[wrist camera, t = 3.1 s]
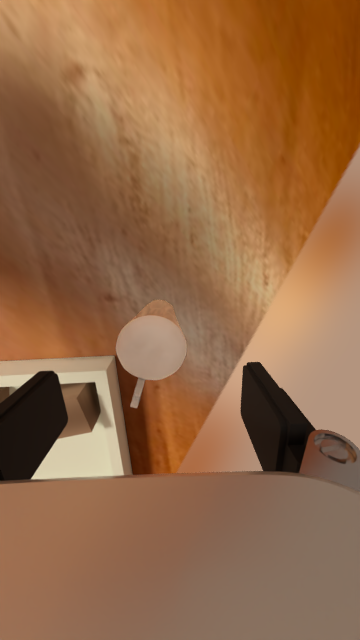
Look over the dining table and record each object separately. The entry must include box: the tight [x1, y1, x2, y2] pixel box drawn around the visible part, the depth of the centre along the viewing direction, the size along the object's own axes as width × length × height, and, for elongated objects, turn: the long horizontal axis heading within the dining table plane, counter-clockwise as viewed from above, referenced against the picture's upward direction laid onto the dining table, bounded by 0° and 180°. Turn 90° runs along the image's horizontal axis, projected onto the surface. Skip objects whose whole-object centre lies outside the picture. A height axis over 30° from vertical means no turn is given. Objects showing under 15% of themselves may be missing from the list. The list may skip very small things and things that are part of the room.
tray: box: [0, 356, 133, 479], centre depth 24 cm, size 20×18×3 cm
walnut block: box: [58, 382, 101, 439], centre depth 21 cm, size 4×4×4 cm
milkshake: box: [116, 300, 187, 408], centre depth 16 cm, size 4×5×10 cm
